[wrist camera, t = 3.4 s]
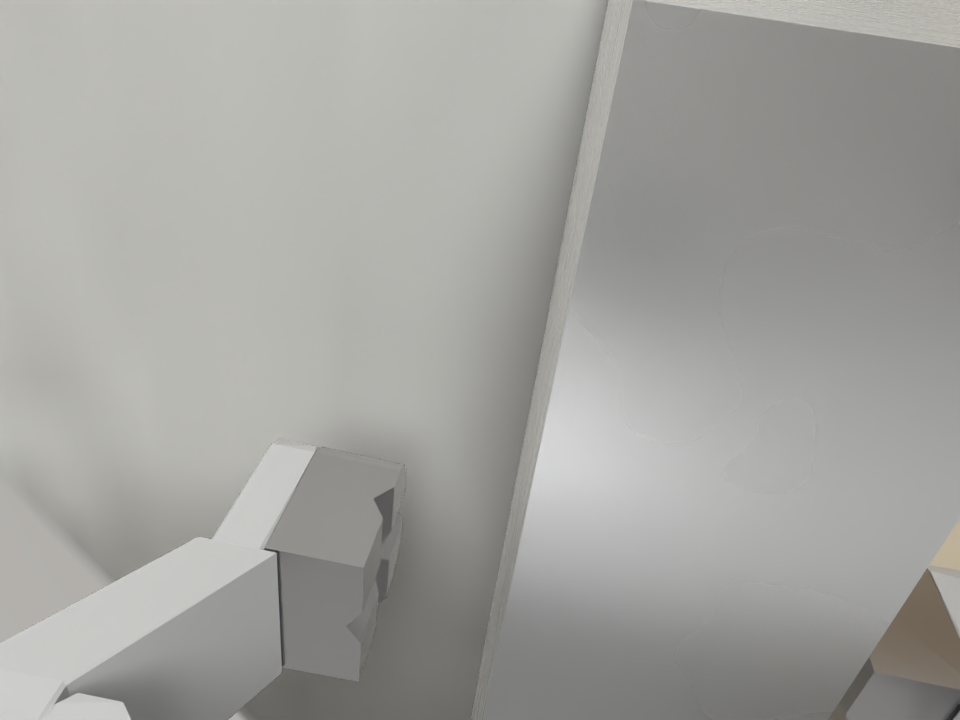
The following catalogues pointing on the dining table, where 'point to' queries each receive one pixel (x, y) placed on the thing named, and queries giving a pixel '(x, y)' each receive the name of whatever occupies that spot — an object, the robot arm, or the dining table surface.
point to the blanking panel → (739, 367)
